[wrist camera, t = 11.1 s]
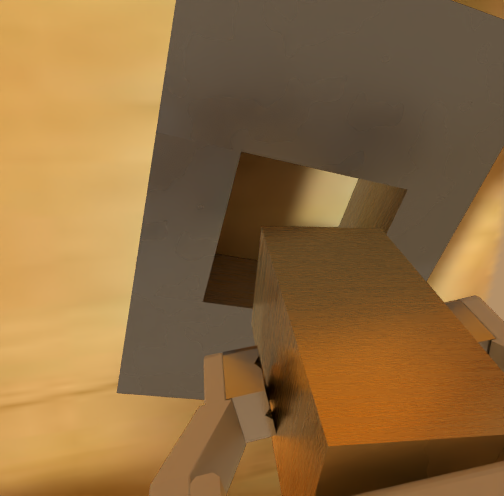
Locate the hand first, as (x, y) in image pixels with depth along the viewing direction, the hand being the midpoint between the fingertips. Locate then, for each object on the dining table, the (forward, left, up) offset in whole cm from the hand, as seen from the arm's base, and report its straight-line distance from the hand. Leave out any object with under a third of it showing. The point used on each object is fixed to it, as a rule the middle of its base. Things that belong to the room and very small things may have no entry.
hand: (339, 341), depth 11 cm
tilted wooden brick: (0, 0, -3) cm, 3 cm away
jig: (0, 0, -9) cm, 9 cm away
